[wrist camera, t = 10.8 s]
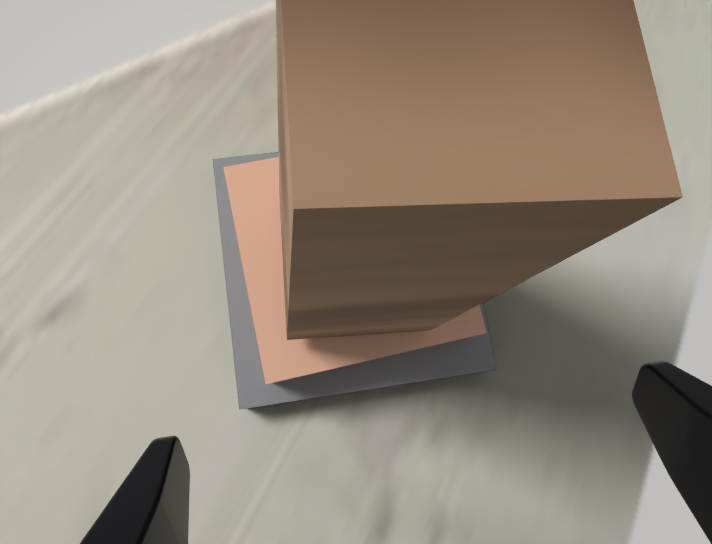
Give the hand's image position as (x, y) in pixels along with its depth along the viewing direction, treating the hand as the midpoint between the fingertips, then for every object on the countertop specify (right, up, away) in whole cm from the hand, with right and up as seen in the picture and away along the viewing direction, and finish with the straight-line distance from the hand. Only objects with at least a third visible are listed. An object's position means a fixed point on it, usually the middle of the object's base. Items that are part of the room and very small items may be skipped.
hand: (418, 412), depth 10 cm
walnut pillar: (-1, +3, +8) cm, 9 cm away
